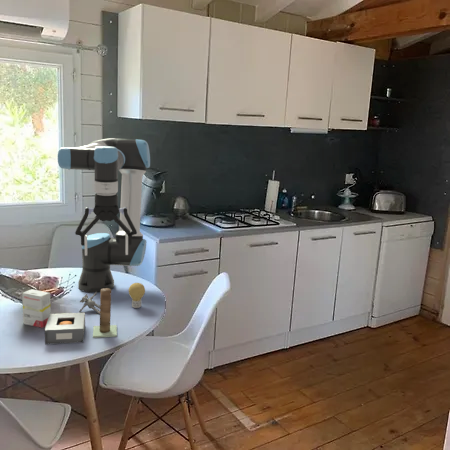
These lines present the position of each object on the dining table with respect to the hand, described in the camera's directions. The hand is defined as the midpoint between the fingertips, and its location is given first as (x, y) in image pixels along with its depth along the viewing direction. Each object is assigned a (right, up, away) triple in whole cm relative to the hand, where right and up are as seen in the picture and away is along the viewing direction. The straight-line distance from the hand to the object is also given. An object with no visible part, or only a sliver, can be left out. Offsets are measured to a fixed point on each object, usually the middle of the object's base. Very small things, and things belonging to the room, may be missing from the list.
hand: (106, 254), depth 167 cm
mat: (-1, -28, +3) cm, 28 cm away
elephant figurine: (-11, -23, +21) cm, 33 cm away
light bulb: (+6, -23, +26) cm, 35 cm away
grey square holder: (-14, -28, 0) cm, 31 cm away
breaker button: (-14, -27, -1) cm, 30 cm away
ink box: (-26, -26, +7) cm, 37 cm away
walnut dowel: (-1, -27, +3) cm, 27 cm away
